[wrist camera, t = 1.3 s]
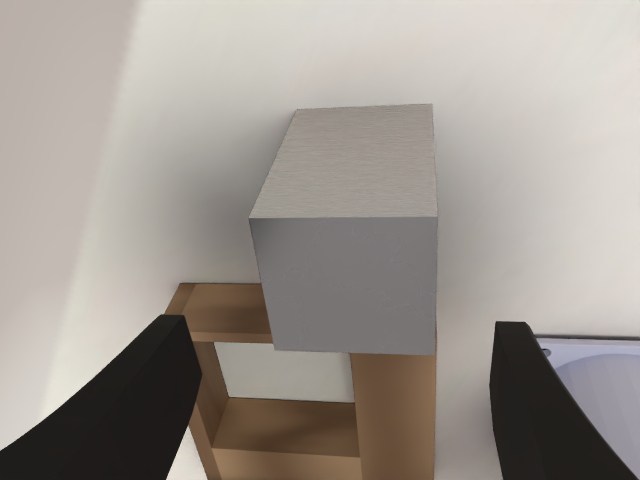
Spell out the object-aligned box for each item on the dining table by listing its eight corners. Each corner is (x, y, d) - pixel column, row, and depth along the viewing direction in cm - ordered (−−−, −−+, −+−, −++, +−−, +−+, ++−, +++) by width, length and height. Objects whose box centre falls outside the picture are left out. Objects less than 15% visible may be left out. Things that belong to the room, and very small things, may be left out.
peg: (432, 103, 19) (437, 216, 13) (430, 219, 22) (434, 355, 16) (296, 109, 20) (248, 217, 14) (311, 220, 22) (274, 350, 17)
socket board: (434, 286, 23) (439, 425, 18) (431, 474, 31) (434, 614, 25) (180, 283, 25) (114, 408, 20) (234, 461, 33) (196, 588, 27)
